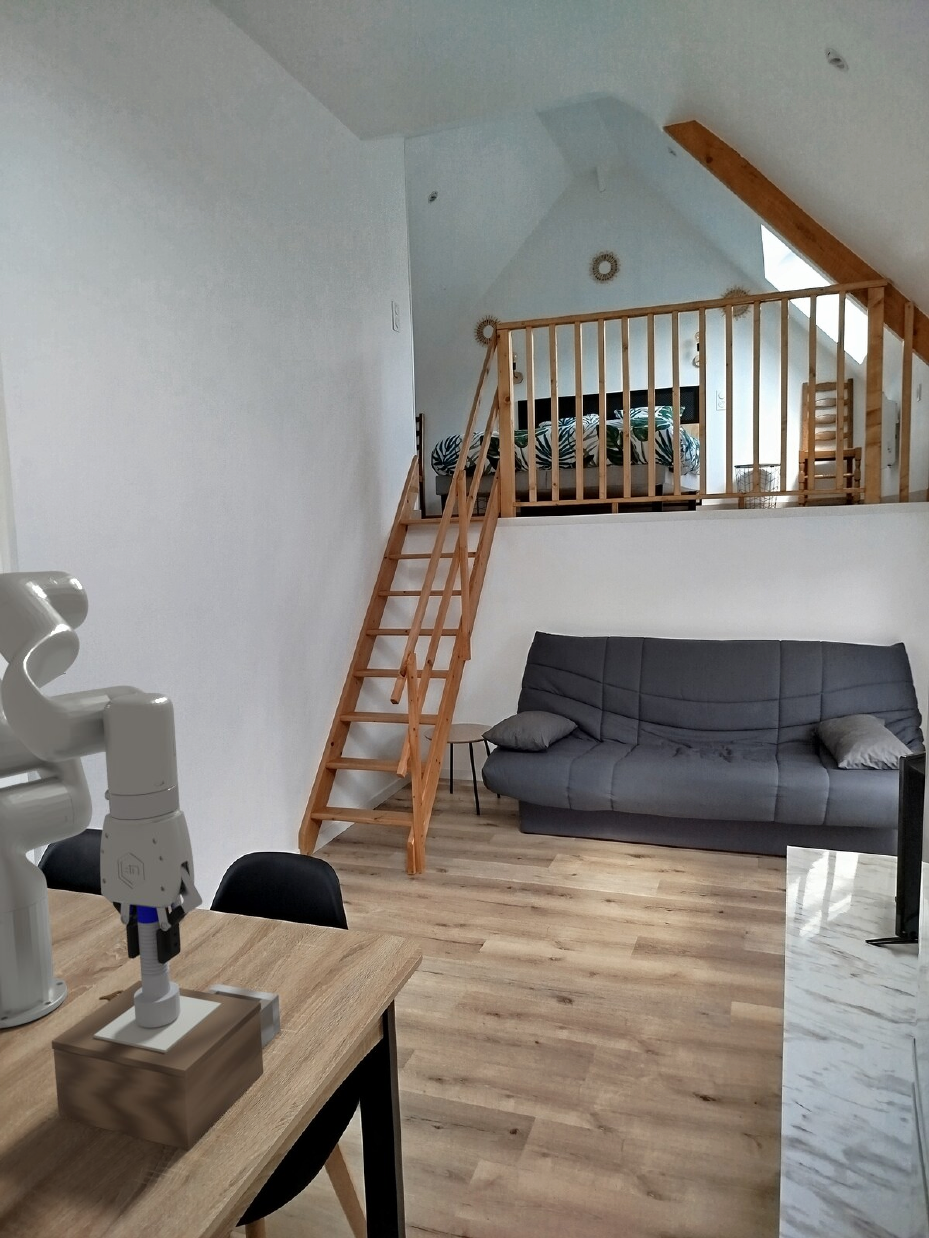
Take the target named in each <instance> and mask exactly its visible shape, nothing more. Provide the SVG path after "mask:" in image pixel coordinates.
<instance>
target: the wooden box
mask: <svg viewBox="0 0 929 1238" xmlns="http://www.w3.org/2000/svg"><path fill="white" fill-rule="evenodd" d="M141 987H142V980H138V981H136V982H135V983H133V984H132V985H130V986H129V987H127V988H126V989H124V991H123V992H122V993H119V994H117V996H116V997H114V998H113V999H112V1000H110V1001H109V1000H108V1001H106V1003H104V1004H103V1005H101V1006H100V1007H99V1008H97V1009H96V1010H94V1011H93V1012H91V1013H90V1014H89V1015H87V1016H86V1017H85V1018H83V1019H82V1020H80V1021H79V1022H76V1024H74V1025H73V1026H71V1027H69V1028H68V1029H67V1030H65V1031H64V1032H63V1033H61V1034H59V1035H58V1036H57V1037H54V1039H53V1040H51V1050H53V1059H54V1061H53V1062H54V1073H55V1084H56V1085H55V1086H56V1087H55V1088H56V1096H57V1097H56V1098H57V1099H56V1100H57V1109H58V1117H59V1118H62V1119H65V1120H66V1119H67V1120H71V1121H74V1122H78V1123H82V1124H85V1125H88V1126H89V1125H90V1126H94V1127H96V1128H101V1129H104V1130H109V1131H112V1132H116V1133H118V1134H124V1135H128V1136H132V1137H135V1138H140V1139H143V1140H147V1141H151V1142H154V1143H158V1144H162V1145H165V1146H169V1147H173V1148H177V1149H181V1150H185V1151H190V1150H191V1149H192V1148H193V1147H194V1146H195V1145H196V1144H197V1143H198V1142H199V1141H200V1140H201V1138H202V1137H204V1135H205V1134H206V1133H208V1131H209V1130H211V1128H212V1127H213V1126H214V1125H215V1124H216V1123H217V1122H218V1121H220V1118H221V1117H222V1116H224V1114H226V1113H227V1111H229V1110H230V1109H231V1107H232V1106H234V1104H235V1103H236V1102H237V1101H238V1100H239V1099H240V1098H241V1097H242V1096H243V1095H244V1094H245V1093H246V1092H247V1090H248V1089H250V1088H251V1086H252V1085H253V1084H254V1083H255V1082H256V1081H257V1080H258V1079H260V1077H261V1076H262V1075H263V1074H264V1059H263V1049H264V1048H265V1047H266V1045H268V1044H269V1043H270V1042H271V1040H273V1039H274V1038H275V1037H276V1036H277V1035H278V1033H280V1032H281V1020H280V1019H281V1018H280V1017H281V1015H280V999H279V994H276V993H272V992H271V993H270V992H265V991H260V990H254V989H248V988H243V987H236V986H232V985H226V984H219V983H214V984H213V985H212V986H210V987H209V988H208V989H206V991H199V990H195V989H188V988H183V987H179V994H180V996H185V997H190V998H196V999H201V1000H206V1001H212V1002H217V1003H221V1004H222V1006H221V1007H219V1008H218V1009H217V1010H216V1011H215V1012H213V1013H212V1014H211V1015H210V1016H209V1017H208V1018H206V1019H205V1020H204V1021H203V1022H202V1023H200V1024H199V1025H198V1026H197V1027H196V1028H195V1029H193V1030H192V1031H191V1032H190V1033H189V1034H187V1035H186V1036H185V1037H184V1038H183V1039H181V1040H180V1041H179V1042H178V1043H177V1044H176V1045H174V1046H173V1047H172V1048H171V1049H170V1050H168V1051H167V1052H166V1053H163V1052H159V1051H154V1050H149V1049H145V1048H140V1047H135V1046H131V1045H126V1044H121V1043H117V1042H112V1041H108V1040H103V1039H98V1038H94V1035H95V1034H96V1033H97V1032H99V1031H100V1030H101V1029H103V1028H104V1027H106V1026H107V1025H108V1024H110V1023H111V1022H112V1021H114V1020H115V1019H117V1018H118V1017H119V1016H121V1015H122V1014H123V1013H125V1012H126V1011H128V1010H129V1009H130V1008H132V1007H133V1006H134V994H135V992H136V991H137V990H138V989H140V988H141Z"/></svg>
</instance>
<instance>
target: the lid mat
mask: <svg viewBox="0 0 929 1238" xmlns="http://www.w3.org/2000/svg"><path fill="white" fill-rule="evenodd" d="M221 1006H222V1004H221V1003H217V1002H212V1001H206V1000H201V999H196V998H190V997H185V996H180V1009H181V1011H180V1014H179V1016H178V1017H177V1018H176V1019H175V1020H173V1021H172V1022H170V1023H169V1024H166V1025H164V1026H160V1027H155V1028H146V1027H142V1026H140V1025H138V1024H137V1022H136V1020H135V1005H134V1006H133V1007H132V1008H130V1009H129V1010H128V1011H126V1012H125V1013H123V1014H122V1015H121V1016H119V1017H118V1018H117V1019H115V1020H114V1021H112V1022H111V1023H110V1024H108V1025H107V1026H106V1027H104V1028H103V1029H101V1030H100V1031H99V1032H97V1033H96V1034H95V1035H94V1038H98V1039H103V1040H108V1041H112V1042H117V1043H121V1044H126V1045H131V1046H135V1047H140V1048H145V1049H149V1050H154V1051H159V1052H163V1053H166V1052H167V1051H168V1050H170V1049H171V1048H172V1047H173V1046H174V1045H176V1044H177V1043H178V1042H179V1041H180V1040H181V1039H183V1038H184V1037H185V1036H186V1035H187V1034H189V1033H190V1032H191V1031H192V1030H193V1029H195V1028H196V1027H197V1026H198V1025H199V1024H200V1023H202V1022H203V1021H204V1020H205V1019H206V1018H208V1017H209V1016H210V1015H211V1014H212V1013H213V1012H215V1011H216V1010H217V1009H218V1008H219V1007H221Z"/></svg>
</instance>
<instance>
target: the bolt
mask: <svg viewBox="0 0 929 1238" xmlns="http://www.w3.org/2000/svg"><path fill="white" fill-rule="evenodd" d="M136 906H137V921H138V929H139V930H138V933H139V934H138V936H139V948H140V955H139V956H140V957H139V960H140V961H139V962H140V977H141V980H140V981H142V987H141V988H140V989H138V990H137V991H136V992H135V994H134V1005H135V1020H136V1022H137V1024H138V1025H140V1026H142V1027H146V1028H155V1027H160V1026H164V1025H166V1024H169V1023H170V1022H172V1021H173V1020H175V1019H176V1018H177V1017H178V1016H179V1014H180V1011H181V1009H180V994H179V988H180V986H179V984H178V983H176V982H175V981H171V973H170V972H171V970H170V960H169V961H168V962H166V963H165V964H160V963H159V962H158V956H157V940H156V932H157V930H159V929H160V924H159V918H158V913H157V908H153V907H146V906H139V905H136Z"/></svg>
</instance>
